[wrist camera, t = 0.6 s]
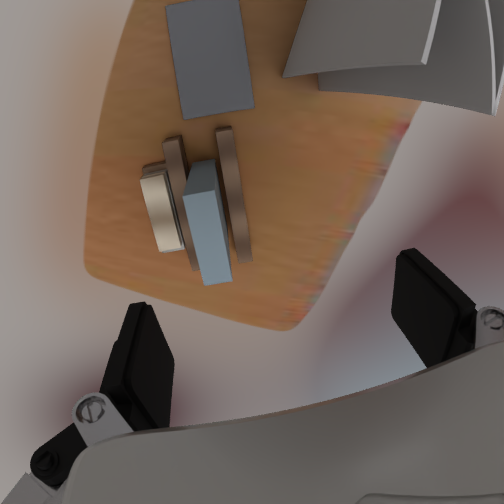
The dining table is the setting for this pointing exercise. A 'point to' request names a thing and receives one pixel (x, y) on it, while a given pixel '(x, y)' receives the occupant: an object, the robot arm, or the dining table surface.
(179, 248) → the offcut stack
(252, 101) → the slate mat
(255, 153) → the dining table surface
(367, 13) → the grey tall flat block
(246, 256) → the rack
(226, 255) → the blue grey brick
